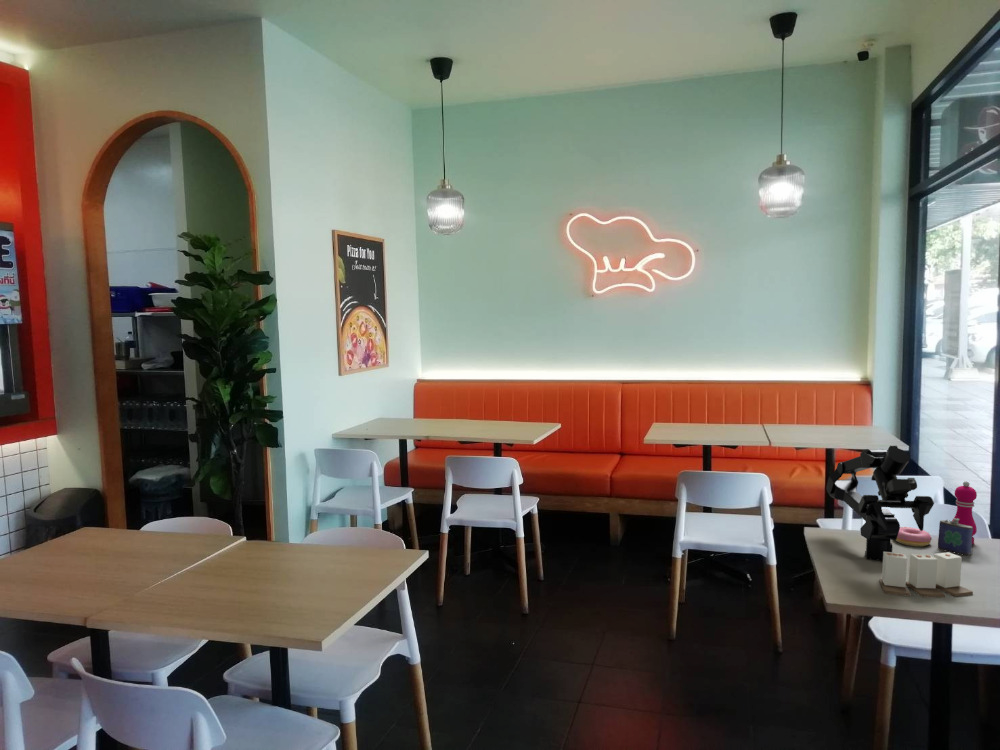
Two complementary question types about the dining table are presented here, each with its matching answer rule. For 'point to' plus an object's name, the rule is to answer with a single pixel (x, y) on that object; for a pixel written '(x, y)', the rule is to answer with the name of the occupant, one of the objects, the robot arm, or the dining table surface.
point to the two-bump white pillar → (922, 571)
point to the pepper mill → (965, 506)
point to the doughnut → (913, 537)
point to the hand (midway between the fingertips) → (904, 529)
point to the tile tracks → (925, 590)
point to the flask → (955, 537)
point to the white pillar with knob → (948, 569)
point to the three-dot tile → (894, 569)
